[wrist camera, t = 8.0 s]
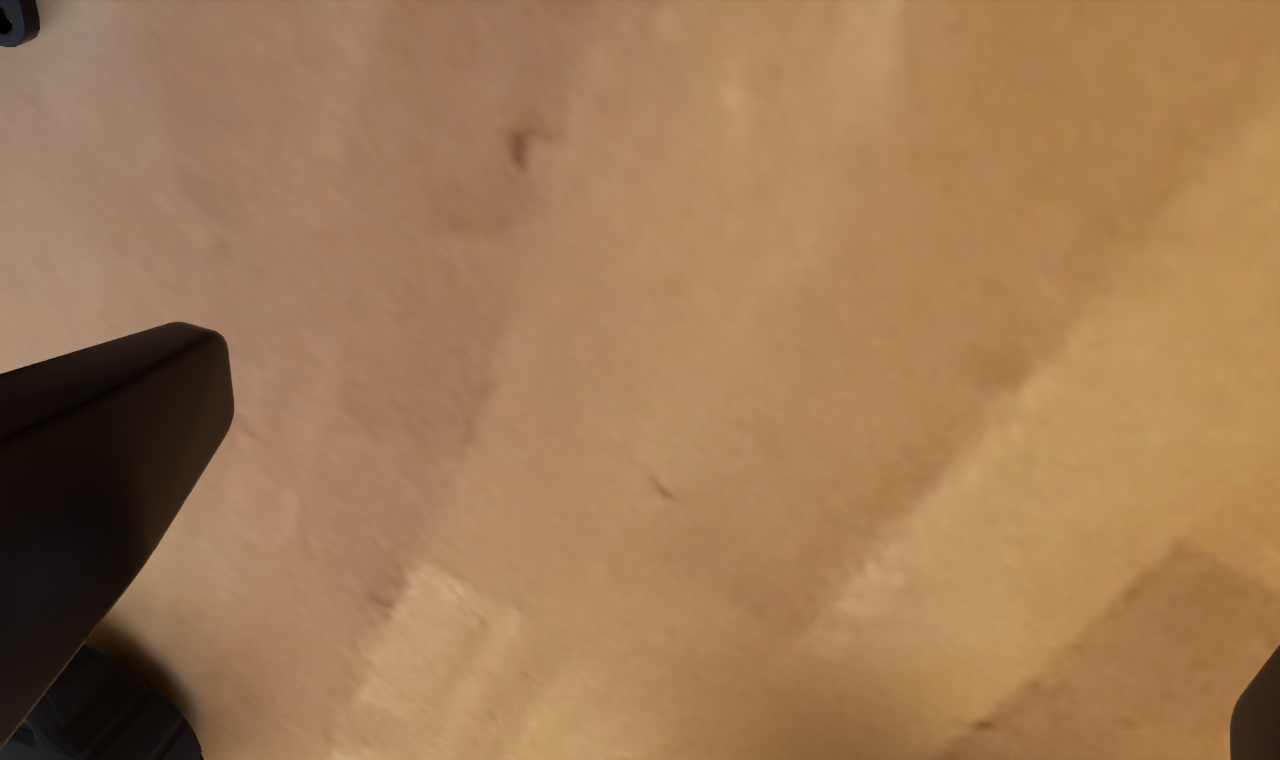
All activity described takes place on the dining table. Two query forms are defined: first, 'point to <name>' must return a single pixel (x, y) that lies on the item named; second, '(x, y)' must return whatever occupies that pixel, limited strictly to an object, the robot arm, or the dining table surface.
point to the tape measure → (102, 718)
